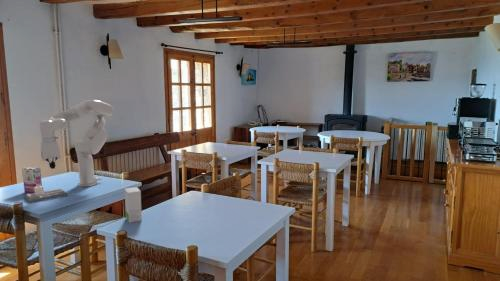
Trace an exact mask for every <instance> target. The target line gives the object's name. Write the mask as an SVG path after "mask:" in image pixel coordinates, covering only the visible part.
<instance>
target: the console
mask: <svg viewBox="0 0 500 281" xmlns="http://www.w3.org/2000/svg"><path fill="white" fill-rule="evenodd" d="M67 194H68V193H67V192H66V191H64V190H63V189H61V188H55V189H52V190H51V189H50V190H46V191H45V190H44V194H41V195H35V193H26V194H25V195H24V198H25V200H27V201H28V202H29V203H30V204H33V203H37V202H43V201H48V200H53V199H58V198H62V197H67V196H68V195H67ZM32 202H33V203H32Z"/></svg>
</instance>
